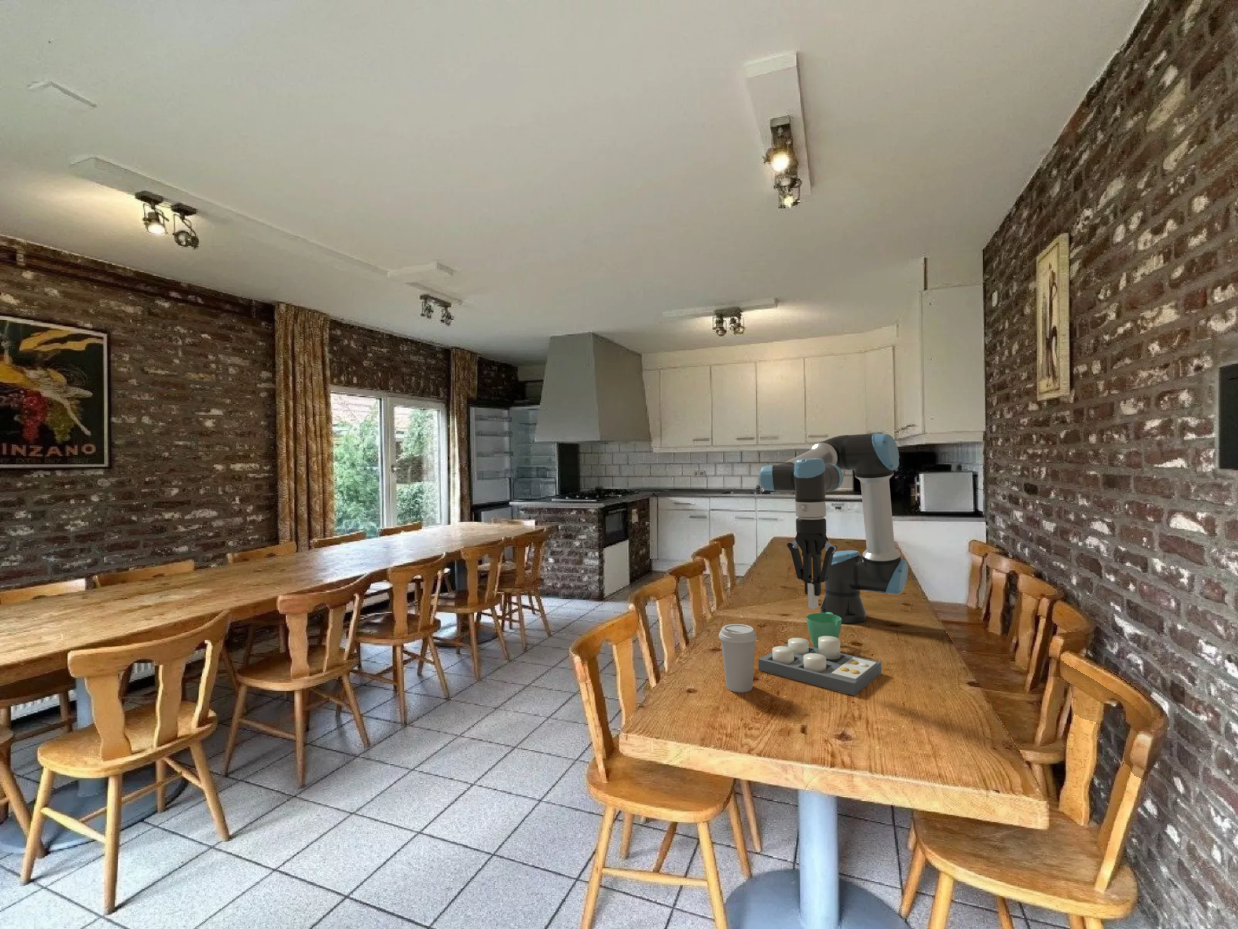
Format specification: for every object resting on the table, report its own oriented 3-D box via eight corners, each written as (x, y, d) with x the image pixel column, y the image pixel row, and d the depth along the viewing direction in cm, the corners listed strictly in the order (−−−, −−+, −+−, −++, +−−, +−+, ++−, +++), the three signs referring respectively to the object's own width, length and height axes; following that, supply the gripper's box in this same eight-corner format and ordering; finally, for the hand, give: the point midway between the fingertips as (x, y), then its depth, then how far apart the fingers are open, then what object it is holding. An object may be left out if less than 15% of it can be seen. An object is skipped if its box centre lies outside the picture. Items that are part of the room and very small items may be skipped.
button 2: (794, 651, 166) (793, 636, 166) (812, 656, 162) (812, 640, 162) (784, 657, 162) (784, 641, 162) (803, 661, 158) (803, 645, 158)
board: (790, 652, 169) (789, 639, 169) (881, 673, 151) (881, 659, 151) (758, 670, 156) (758, 657, 156) (854, 695, 138) (854, 681, 138)
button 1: (779, 660, 160) (778, 644, 160) (797, 665, 156) (797, 649, 156) (769, 666, 156) (768, 650, 156) (788, 671, 152) (787, 654, 152)
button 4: (824, 650, 160) (823, 634, 160) (843, 655, 156) (843, 638, 156) (815, 656, 156) (814, 639, 156) (835, 660, 152) (834, 644, 152)
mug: (839, 659, 162) (838, 624, 162) (803, 654, 167) (802, 620, 167) (847, 643, 174) (846, 611, 174) (814, 639, 179) (813, 607, 179)
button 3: (809, 668, 153) (809, 651, 153) (830, 673, 150) (829, 656, 150) (800, 674, 149) (799, 657, 149) (820, 680, 146) (820, 662, 145)
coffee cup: (713, 684, 148) (711, 626, 147) (743, 677, 152) (742, 621, 151) (734, 698, 139) (732, 636, 139) (766, 690, 143) (764, 630, 142)
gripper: (780, 517, 151) (783, 606, 151) (829, 520, 142) (831, 615, 142) (794, 514, 156) (796, 600, 157) (841, 517, 147) (843, 608, 148)
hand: (813, 607), depth 150 cm, fingers closed
